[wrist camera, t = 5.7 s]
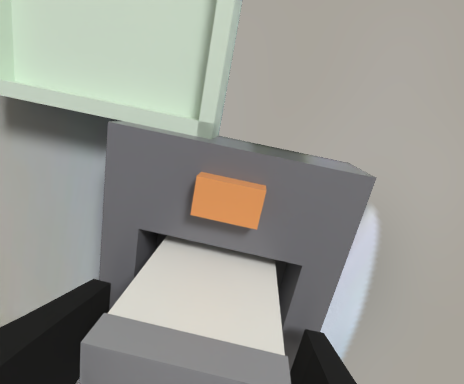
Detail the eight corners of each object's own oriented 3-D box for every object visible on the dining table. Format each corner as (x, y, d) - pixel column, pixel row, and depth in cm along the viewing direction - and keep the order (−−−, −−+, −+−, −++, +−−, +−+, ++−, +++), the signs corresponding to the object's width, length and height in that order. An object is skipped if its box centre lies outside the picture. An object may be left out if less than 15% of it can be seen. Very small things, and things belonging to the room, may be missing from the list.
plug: (164, 303, 12) (76, 476, 6) (175, 221, 11) (80, 342, 5) (253, 324, 12) (247, 522, 6) (274, 243, 11) (292, 393, 5)
